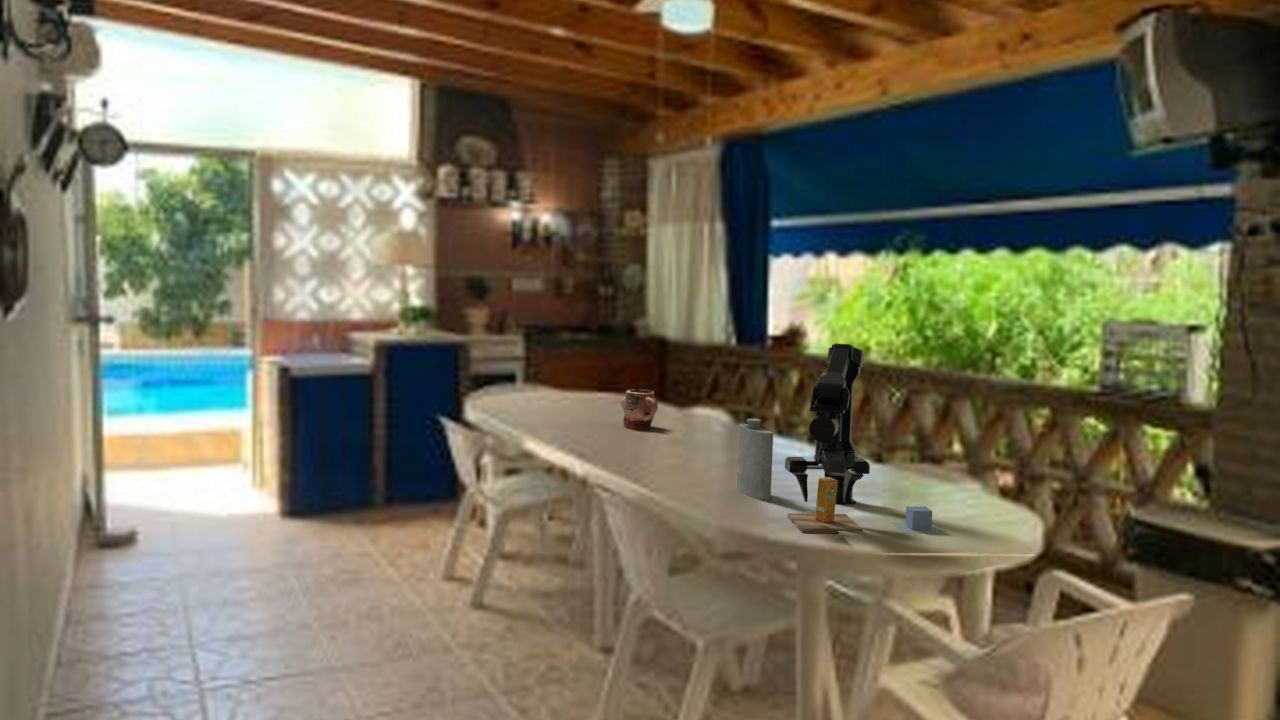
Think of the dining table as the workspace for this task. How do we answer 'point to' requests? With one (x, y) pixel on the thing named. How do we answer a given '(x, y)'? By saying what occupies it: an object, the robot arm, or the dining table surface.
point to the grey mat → (906, 530)
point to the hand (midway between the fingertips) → (825, 501)
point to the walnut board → (811, 525)
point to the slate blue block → (918, 518)
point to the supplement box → (826, 499)
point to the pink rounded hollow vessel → (639, 408)
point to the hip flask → (754, 460)
